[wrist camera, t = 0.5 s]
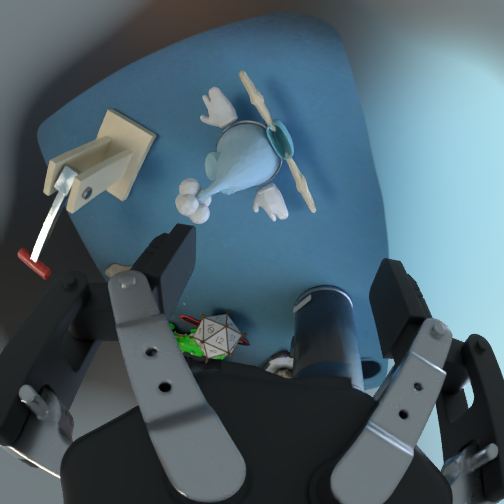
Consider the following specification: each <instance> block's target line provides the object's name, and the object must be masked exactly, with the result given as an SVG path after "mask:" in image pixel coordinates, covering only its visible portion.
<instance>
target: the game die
mask: <svg viewBox="0 0 504 504" xmlns="http://www.w3.org/2000/svg"><path fill="white" fill-rule="evenodd" d="M229 312H230V311H229V310H228V311H227V312H226V314H221V315H214V316H207V317H204V315H203V314H202V313H201V317H202V318H203V319H202V321H201V322H200V324H199V326H198V328H197V330H196V332H195V334H194V336H189V337H188V338H190V339H191V338H194V340H195V341H196V343H197V344H198V346H199V347H200V349H201V350H202V351H203V353H204V354H205V356H206V357H207V358H206V360H205V363H207V362H208V361H209V360H208V359H209V358H214V357H219V356H224V355H228V356H231V357H233V354H232V352H233V350H234V348H235V347H236V345H237V343H238V342H239V340H240V339H241V337H242V336H246V335H248V334H246V333H243V334H242V333H241V332H240V331H239V329H238V328H237V326H236V325H235V324H234V322H233V321H232V319H231V318H230V317H229V315H228V314H229Z"/></svg>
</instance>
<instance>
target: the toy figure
mask: <svg viewBox="0 0 504 504" xmlns="http://www.w3.org/2000/svg"><path fill="white" fill-rule="evenodd" d="M239 76H240V78H241V80H242V82H243V84H244V86H245V88H246V90H247V92H248V94H249V96H250V101H251V103H252V104H253V105H255V106H256V108H257V109H258V111H259V113H260V114H261V116H262V117H263V119H264V120H265V122H266V123H267V125H268V126H267V127H266V126H265V125H263V124H262V123H259V122H256V121H251V120H244V121H239V122H236V123H234V124H232V125H230V124H231V123H233V122H234V121H236V120H237V118H238V117H237V115H236V111H235V109H234V107H233V106H232V104H231V103H230V101H229V100H228V99H227V98H226V96H225V95H224V94H223V92H222V91H221V90H220V89H219V88H217V87H213V88H211V89H210V90H209V97H210V98H209V97H208V96H206V95H203V101H204V103H205V105H206V107H207V109H208V112H209V117H207V116H205V115H202V116H201V117H200V119H201V120H202V121H203V122H204V123H207V124H209V125H213V126H217V127H220V128H223V127H226V126H228V125H230V126H228V127H227V128H226V129H228V128H229V127H231V126H233V125H236V124H238V123H244V122H250V123H246V124H240V125H236V126H234V127H232V128H230V129H229V130H228V131H226V132H225V133H224V131H225V130H226V129H225V130H224V131H223V132H222V133H221V135H222V134H223V133H224V134H223V136H222V137H221V135H220V136H219V138H218V140H217V144H216V148H217V152H210V153H209V154H208V155H207V157H206V160H205V172H206V174H207V177H208V178H209V179H210V180H212V181H213V183H212V184H211V185H210V186H209V187H208V188H207V189H205V190H204V189H200V186H199V183H198V182H197V181H196V180H195V179H193V178H187V179H185V180H184V181H182V183H181V184H180V186H179V191H180V193H179V195H178V196H177V198H176V201H175V203H176V206H177V209H178V211H179V212H180V213H181V214H183V215H185V216H189V217H190V219H191V220H192V221H193V223H197V224H202V223H204V222H206V220H207V219H208V218H209V214H210V212H209V208H208V207H207V206H209V204H210V203H211V196H212V195H213V194H215V193H217V192H221V193H224V194H226V195H230V194H232V193H234V192H235V191H239V190H244V189H246V188H249V187H251V186H256V185H261V184H264V183H266V182H268V181H270V180H271V179H272V178H273V177H274V176H275V175H276V174H277V173H278V172H279V170H280V168H281V165H280V167H279V169H278V171H277V168H278V166H279V164H280V158H281V164H282V159H284V160H286V161H287V163H288V165H289V168H290V170H291V172H292V175H293V177H294V179H295V182H296V187H297V190H298V191H299V192H300V193H301V194H302V196H303V198H304V200H305V202H306V204H307V205H308V207H309V209H310V210H311V212H315V211H316V206H315V204H314V201H313V198H312V196H311V193H310V191H309V189H308V186H307V183H306V178H305V177H304V176H303V175H302V174H301V172H300V171H299V169H298V167H297V165H296V163H295V162H294V160H293V158H292V156H293V154H294V145H293V142H292V138H291V136H290V134H289V133H288V131H287V129H286V127H285V126H284V124H283V123H282V122H281V121H279V120H272V118H271V116H270V113H269V111H268V109H267V107H266V105H265V103H264V98H263V96H262V95H261V94H260V93H259V92H258V90H257V89H256V88H255V86H254V84H253V83H252V81H251V80H250V78H249V77H248V75H247V74H246V73H245V71H240V72H239ZM254 123H256V124H254ZM276 171H277V172H276ZM275 172H276V173H275ZM274 173H275V174H274ZM273 174H274V175H273ZM259 206H261V207H262V208H263V209H264V210H265V211H266V212H267V214H268V215H269V217H270V218H271V219H272V220H273V221H276V216H277V217H278V218H279V219H281V220H282V219H286V218H287V217H288V211H287V208H286V205H285V202H284V199H283V197H282V195H281V193H280V191H279V189H278V188H277V187H276V186H275V183H270V184H267V185H264V186H262V187H261V188H259V189H258V190H257V194H256V196H255V200H254V204H253V210H254V211H255V212H256V213H257V212H258V211H259ZM275 214H276V216H275Z"/></svg>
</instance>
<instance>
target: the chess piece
mask: <svg viewBox="0 0 504 504" xmlns="http://www.w3.org/2000/svg"><path fill="white" fill-rule="evenodd" d="M184 358H185V360H186V362H187V364H188V366H189V368H190V369H191V368H200V369H202V370H203V371H205V370H213V369H219V368H220V364H221V359H213V358H211V359H209V361H208V362H207V363H205V361H196V360H195V359H193V358H192V357H189V358H187V357H186V356H184Z"/></svg>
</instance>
